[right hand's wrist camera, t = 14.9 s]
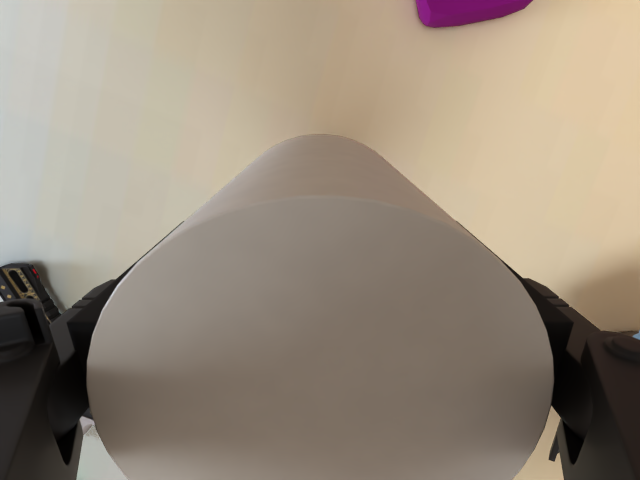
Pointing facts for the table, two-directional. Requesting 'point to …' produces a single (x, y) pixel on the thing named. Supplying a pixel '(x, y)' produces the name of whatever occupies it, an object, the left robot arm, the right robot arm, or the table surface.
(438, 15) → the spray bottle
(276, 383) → the can
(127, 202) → the table surface
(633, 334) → the left robot arm
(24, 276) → the decorative firearm
